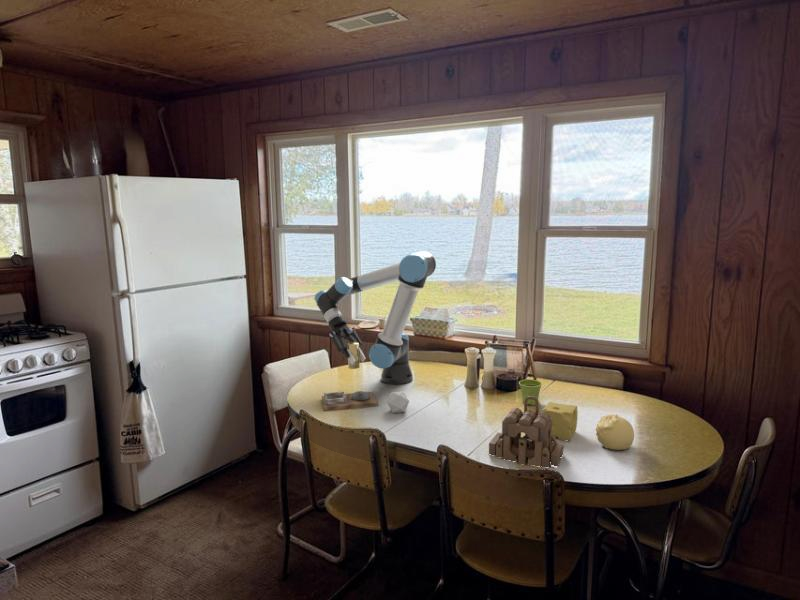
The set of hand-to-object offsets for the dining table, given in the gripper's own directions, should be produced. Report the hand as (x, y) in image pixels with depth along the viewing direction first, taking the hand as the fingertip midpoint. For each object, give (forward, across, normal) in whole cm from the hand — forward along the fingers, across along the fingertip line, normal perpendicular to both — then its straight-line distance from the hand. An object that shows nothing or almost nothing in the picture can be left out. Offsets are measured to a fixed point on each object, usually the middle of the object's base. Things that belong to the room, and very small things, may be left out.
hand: (358, 361), depth 235 cm
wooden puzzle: (+72, -2, +49) cm, 87 cm away
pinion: (0, 0, -5) cm, 5 cm away
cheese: (+71, -24, +48) cm, 89 cm away
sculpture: (+84, -28, +61) cm, 108 cm away
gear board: (+14, +10, -7) cm, 19 cm away
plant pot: (+53, -43, +31) cm, 75 cm away
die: (+30, +2, +9) cm, 31 cm away
